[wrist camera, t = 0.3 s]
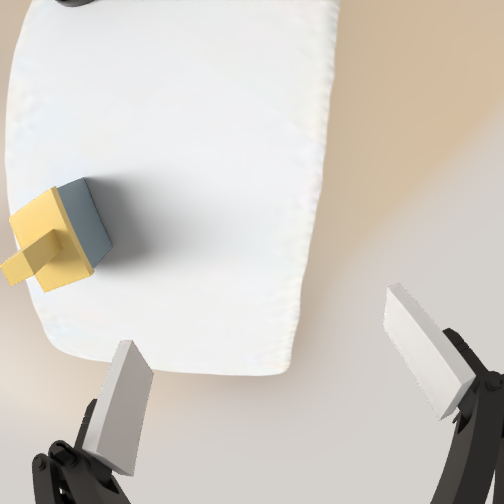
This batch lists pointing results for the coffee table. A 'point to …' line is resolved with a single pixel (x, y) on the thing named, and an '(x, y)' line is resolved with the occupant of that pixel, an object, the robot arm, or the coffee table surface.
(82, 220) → the box
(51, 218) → the lid
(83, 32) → the coffee table surface
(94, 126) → the coffee table surface
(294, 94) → the coffee table surface
